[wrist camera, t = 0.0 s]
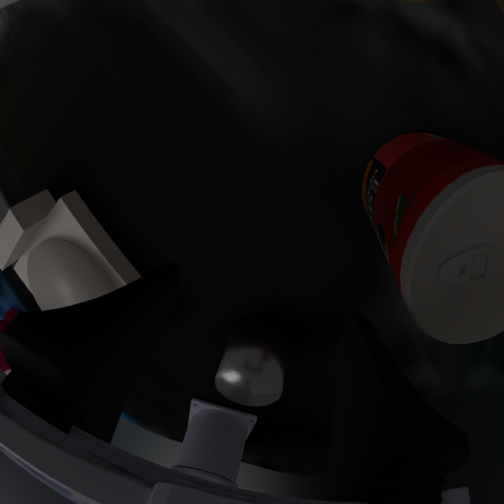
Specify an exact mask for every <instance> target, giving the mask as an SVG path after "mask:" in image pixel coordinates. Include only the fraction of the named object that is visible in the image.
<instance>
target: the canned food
mask: <svg viewBox="0 0 504 504" xmlns="http://www.w3.org/2000/svg"><path fill="white" fill-rule="evenodd" d="M362 198H363V203H364V207H365V210H366V212H367V214H368V217H369V219H370V221H371V223H372V226H373V228H374V230H375V232H376V234H377V237H378V239H379V241H380V244H381V246H382V248H383V251H384V253H385V255H386V258H387V260H388V263H389V265H390V268H391V270H392V273H393V275H394V278H395V280H396V283H397V286H398V288H399V291H400V293H401V295H402V297H403V300H404V303H405V305H406V307H407V309H408V311H409V312H410V314H411V316H412V318H413V319H414V321H415V323H416V324H417V326H418V327H419V328H420V329H421V330H423V331H424V332H425V333H426V334H427V335H429V336H431V337H433V338H435V339H437V340H439V341H443V342H447V343H454V344H466V343H472V342H478V341H481V340H484V339H487V338H490V337H492V336H494V335H496V334H498V333H500V332H502V331H504V161H503V160H500V159H498V158H496V157H493V156H491V155H488V154H486V153H483V152H481V151H478V150H476V149H473V148H470V147H468V146H465V145H462V144H459V143H457V142H454V141H451V140H448V139H445V138H442V137H439V136H436V135H432V134H428V133H419V132H414V133H408V134H403V135H400V136H398V137H396V138H393V139H392V140H390V141H389V142H387V143H386V144H384V145H383V146H382V147H381V148H380V149H379V150H378V151H377V152H376V153H375V154H374V156H373V157H372V159H371V160H370V162H369V164H368V166H367V169H366V171H365V174H364V178H363V184H362Z"/></svg>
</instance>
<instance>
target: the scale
mask: <svg viewBox="0 0 504 504" xmlns="http://www.w3.org/2000/svg"><path fill="white" fill-rule="evenodd" d="M19 257H20V258H19ZM18 258H19V260H18V262H17V263H16V265H15V267H14V270H15V271H16V272H17V274H18V275H19V277H20V278H21V279H22V281H23V282H24V283H25V285H26V286H27V287H28V289H29V290H30V291H31V293H32V294H33V296H34V298H35V300H36V302H37V303H38V305H39V307H40V308H41V310H42V311H43V310H50V309H56V308H61V307H66V306H70V305H74V304H77V303H81V302H85V301H88V300H91V299H94V298H97V297H100V296H102V295H105V294H107V293H110V292H112V291H114V290H116V289H118V288H121V287H123V286H125V285H127V284H129V283H131V282H133V281H135V280H137V279H138V278H140V277H141V275H140V274H139V273H138V272H137V271H136V269H135V268H134V267H133V266H132V265H131V263H130V262H129V261H128V260H127V258H126V257H125V256H124V255H123V253H122V252H121V251H120V250H119V248H118V247H117V246H116V245H115V243H114V242H113V241H112V239H111V238H110V237H109V236H108V234H107V233H106V232H105V230H104V229H103V228H102V226H101V225H100V224H99V222H98V221H97V220H96V218H95V217H94V216H93V214H92V213H91V211H90V210H89V209H88V207H87V206H86V205H85V203H84V202H83V200H82V199H81V198H80V196H79V195H78V193H77V192H76V190H74V191H72V192H70V193H68V194H66V195H64V196H62V197H61V198H60V199H59V200H58V202H57V203H56V201H55V200H54V198H53V197H52V195H51V194H50V192H49V191H48V189H46V190H44V191H42V192H40V193H38V194H36V195H34V196H32V197H30V198H28V199H27V200H25V201H23V202H21V203H19V204H17V205H15V206H14V207H12V208H10V209H9V211H8V213H7V215H6V217H5V218H4V219H3V220H2V221H1V223H0V268H1V270H2V271H3V270H4V269H5V268H7V267H8V266H9V265H10V264H12V263H13V262H14V261H16V260H17V259H18Z"/></svg>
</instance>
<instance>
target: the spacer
mask: <svg viewBox="0 0 504 504" xmlns="http://www.w3.org/2000/svg"><path fill="white" fill-rule="evenodd" d="M288 340H289V333H288V329H287V327H286V326H285V325H284V323H283V322H282V321H280V320H279V319H278V318H276V317H274V316H272V315H269V314H265V313H249V314H245V315H243V316H241V317H240V318H238V319H237V320H236V321H235V323H234V325H233V328H232V331H231V334H230V337H229V340H228V343H227V346H226V349H225V352H224V354H223V357H222V360H221V363H220V366H219V369H218V372H217V375H216V378H215V384H216V387H217V389H218V390H219V392H220V393H221V394H222V395H224V396H225V397H226V398H228V399H230V400H232V401H234V402H236V403H239V404H243V405H248V406H264V405H268V404H271V403H273V402H275V401H276V400H278V399H279V397H280V396H281V394H282V387H283V380H284V372H285V365H286V357H287V349H288Z"/></svg>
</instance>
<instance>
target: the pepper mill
mask: <svg viewBox="0 0 504 504" xmlns="http://www.w3.org/2000/svg"><path fill="white" fill-rule="evenodd" d="M18 313H19V311H18V310H16V309H10V310H8V311H7V312H6V313H5V314H4V316H3V320H0V331H1V330H2V329H3V328H4V327H5V326H6V325H7V324H8V323H9V322H10V321H11V320H12V319H13V318H14V317H15V316H16V315H17V314H18ZM0 369H1V370H2V371H3V372H4V371H6V370H9V369H10V367H9V365H8V363H7V361H6V359H5V357H4V355H3V353H2V351H1V349H0Z"/></svg>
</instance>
